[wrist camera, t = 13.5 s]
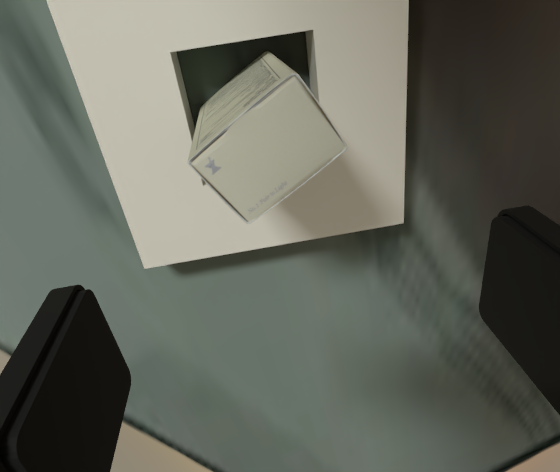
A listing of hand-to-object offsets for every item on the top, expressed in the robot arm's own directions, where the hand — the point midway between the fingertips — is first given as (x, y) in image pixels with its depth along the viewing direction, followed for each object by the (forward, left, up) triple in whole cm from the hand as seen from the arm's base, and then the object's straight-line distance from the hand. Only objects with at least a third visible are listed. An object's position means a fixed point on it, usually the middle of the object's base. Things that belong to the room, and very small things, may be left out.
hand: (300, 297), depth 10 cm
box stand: (0, 0, -22) cm, 22 cm away
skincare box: (0, 0, -22) cm, 22 cm away
